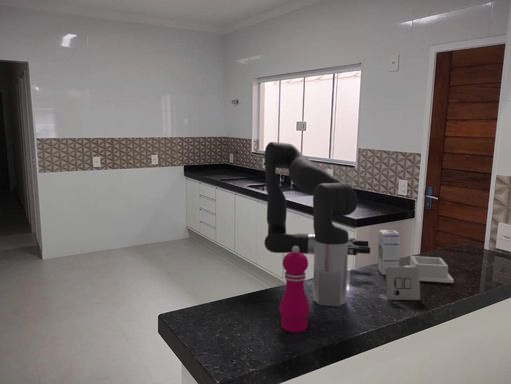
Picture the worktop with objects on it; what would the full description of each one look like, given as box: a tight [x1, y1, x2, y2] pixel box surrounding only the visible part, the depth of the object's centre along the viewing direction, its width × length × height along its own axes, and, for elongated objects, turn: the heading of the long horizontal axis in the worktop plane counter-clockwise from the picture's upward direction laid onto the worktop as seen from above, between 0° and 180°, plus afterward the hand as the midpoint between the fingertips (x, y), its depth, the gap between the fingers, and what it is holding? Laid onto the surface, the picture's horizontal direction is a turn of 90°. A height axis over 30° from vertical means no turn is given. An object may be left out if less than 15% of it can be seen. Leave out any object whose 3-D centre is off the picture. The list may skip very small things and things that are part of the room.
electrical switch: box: [385, 266, 421, 301], centre depth 120 cm, size 9×5×9 cm, turn 88°
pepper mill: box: [278, 246, 310, 333], centre depth 100 cm, size 7×7×20 cm
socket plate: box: [404, 255, 454, 284], centre depth 140 cm, size 13×13×5 cm
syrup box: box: [377, 229, 401, 276], centre depth 142 cm, size 6×6×14 cm
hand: (369, 247), depth 143 cm, fingers open, 8 cm apart
